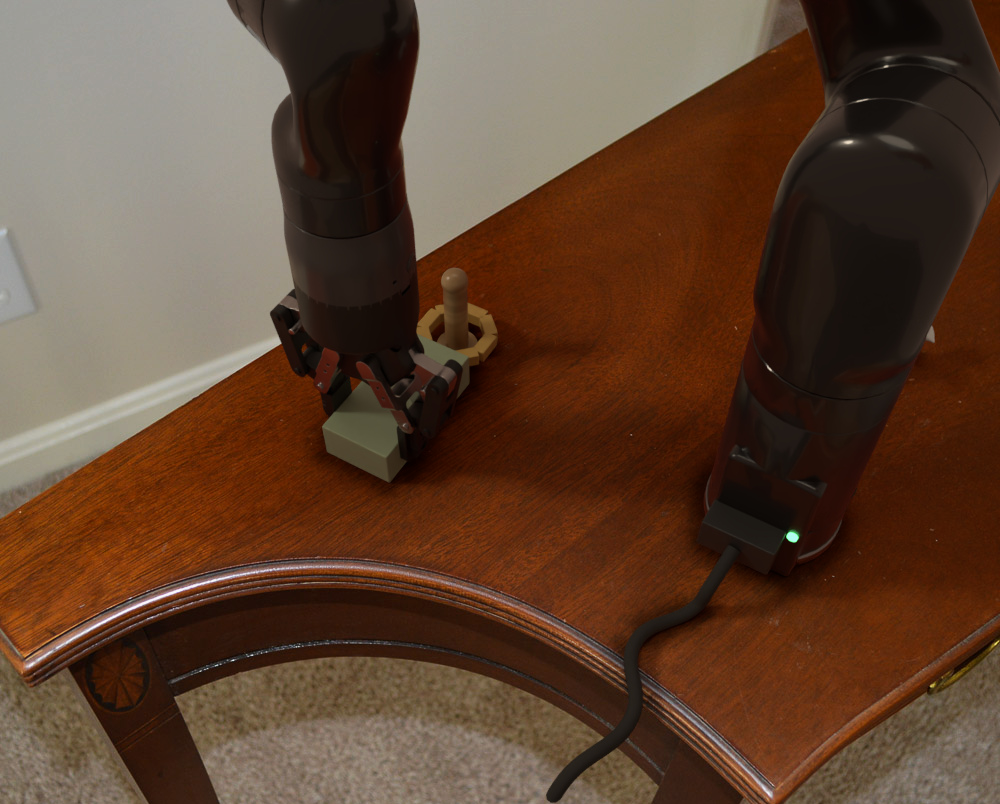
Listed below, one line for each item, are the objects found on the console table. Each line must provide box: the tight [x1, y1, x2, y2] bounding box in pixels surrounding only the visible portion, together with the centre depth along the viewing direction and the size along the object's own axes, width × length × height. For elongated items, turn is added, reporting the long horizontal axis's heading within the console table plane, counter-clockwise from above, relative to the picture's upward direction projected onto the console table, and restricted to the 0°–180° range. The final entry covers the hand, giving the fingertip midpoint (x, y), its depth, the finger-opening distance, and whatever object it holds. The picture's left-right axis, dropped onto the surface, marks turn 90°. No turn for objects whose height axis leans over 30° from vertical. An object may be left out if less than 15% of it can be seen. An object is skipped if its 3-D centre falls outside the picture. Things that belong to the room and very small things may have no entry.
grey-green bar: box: [321, 302, 499, 484], centre depth 81 cm, size 17×6×3 cm, turn 150°
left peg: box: [436, 267, 478, 351], centre depth 82 cm, size 3×3×8 cm
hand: (377, 434), depth 79 cm, fingers closed on grey-green bar, 5 cm apart
